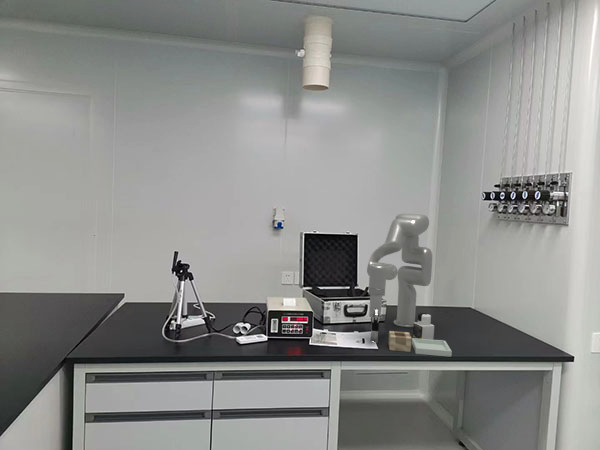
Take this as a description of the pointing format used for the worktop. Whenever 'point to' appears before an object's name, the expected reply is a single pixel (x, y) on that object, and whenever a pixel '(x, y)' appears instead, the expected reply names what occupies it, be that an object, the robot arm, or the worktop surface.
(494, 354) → the worktop surface
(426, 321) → the medicine bottle
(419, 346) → the tray
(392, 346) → the beech block
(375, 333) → the cylinder
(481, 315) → the worktop surface
